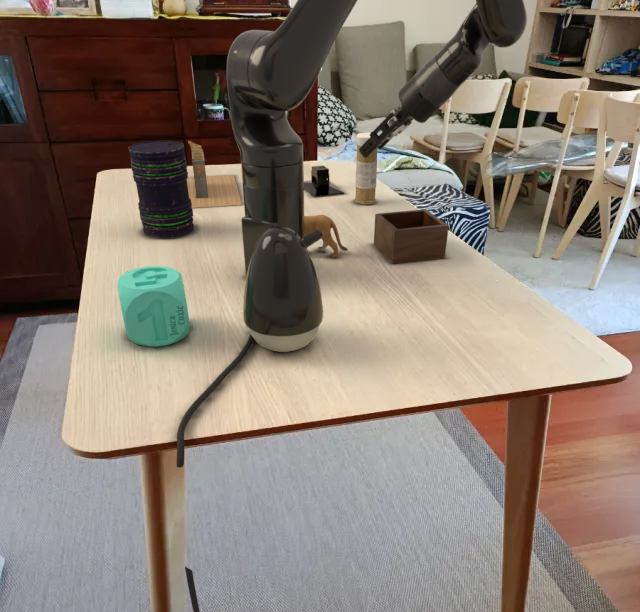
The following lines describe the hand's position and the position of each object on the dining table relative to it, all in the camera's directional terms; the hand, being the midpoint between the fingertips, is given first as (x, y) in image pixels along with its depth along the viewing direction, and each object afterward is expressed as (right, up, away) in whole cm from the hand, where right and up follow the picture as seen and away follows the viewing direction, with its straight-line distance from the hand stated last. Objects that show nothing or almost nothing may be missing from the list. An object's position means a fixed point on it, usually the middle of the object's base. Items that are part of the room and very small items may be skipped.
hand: (369, 149), depth 125 cm
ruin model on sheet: (-37, -3, +14) cm, 40 cm away
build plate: (-10, -2, +15) cm, 19 cm away
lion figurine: (-13, -27, -18) cm, 35 cm away
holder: (+5, -26, -18) cm, 32 cm away
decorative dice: (-32, -44, -42) cm, 69 cm away
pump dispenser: (-15, -46, -44) cm, 66 cm away
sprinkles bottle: (0, -9, +7) cm, 11 cm away
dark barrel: (-39, -19, -8) cm, 44 cm away
